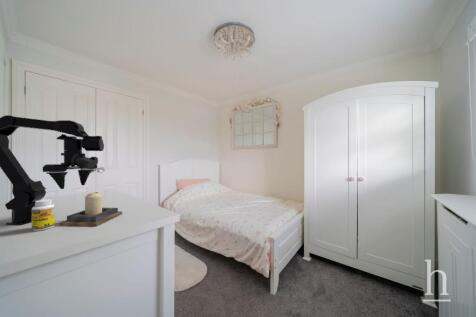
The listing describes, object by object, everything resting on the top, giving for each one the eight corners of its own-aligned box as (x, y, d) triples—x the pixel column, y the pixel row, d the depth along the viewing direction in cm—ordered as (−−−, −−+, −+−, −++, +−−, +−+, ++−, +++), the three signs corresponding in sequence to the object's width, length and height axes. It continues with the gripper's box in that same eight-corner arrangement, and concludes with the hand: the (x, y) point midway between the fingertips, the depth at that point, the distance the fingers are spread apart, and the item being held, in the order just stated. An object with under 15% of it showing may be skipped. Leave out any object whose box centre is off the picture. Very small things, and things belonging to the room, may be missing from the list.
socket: (60, 225, 66) (60, 217, 66) (92, 213, 80) (92, 206, 80) (96, 226, 66) (96, 217, 66) (122, 214, 80) (122, 207, 80)
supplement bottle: (27, 232, 60) (27, 203, 60) (37, 226, 65) (37, 199, 65) (49, 230, 62) (49, 201, 62) (57, 224, 67) (57, 198, 67)
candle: (97, 218, 71) (97, 193, 71) (81, 219, 69) (81, 194, 69) (104, 213, 76) (104, 191, 76) (90, 214, 75) (90, 191, 75)
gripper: (69, 150, 65) (70, 191, 65) (108, 151, 84) (108, 183, 84) (41, 149, 66) (41, 191, 66) (85, 151, 84) (85, 183, 84)
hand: (73, 187), depth 75 cm, fingers open, 9 cm apart
